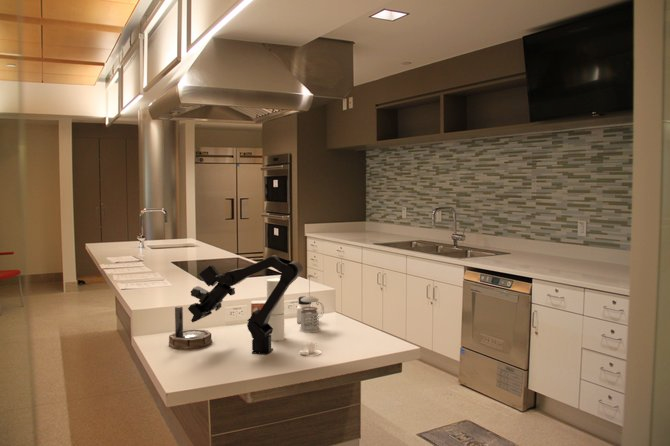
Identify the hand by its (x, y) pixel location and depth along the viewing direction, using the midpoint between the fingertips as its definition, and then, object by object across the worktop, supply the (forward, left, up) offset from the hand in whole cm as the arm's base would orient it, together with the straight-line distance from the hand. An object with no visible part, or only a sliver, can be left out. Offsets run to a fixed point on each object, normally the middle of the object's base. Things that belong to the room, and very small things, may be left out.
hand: (192, 321), depth 214 cm
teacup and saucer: (-45, -3, -11) cm, 47 cm away
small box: (-18, -29, -11) cm, 36 cm away
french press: (-40, -35, -11) cm, 54 cm away
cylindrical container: (-29, -18, -10) cm, 36 cm away
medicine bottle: (-33, -49, -11) cm, 60 cm away
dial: (+3, -4, -9) cm, 11 cm away
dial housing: (+3, -4, -10) cm, 12 cm away
